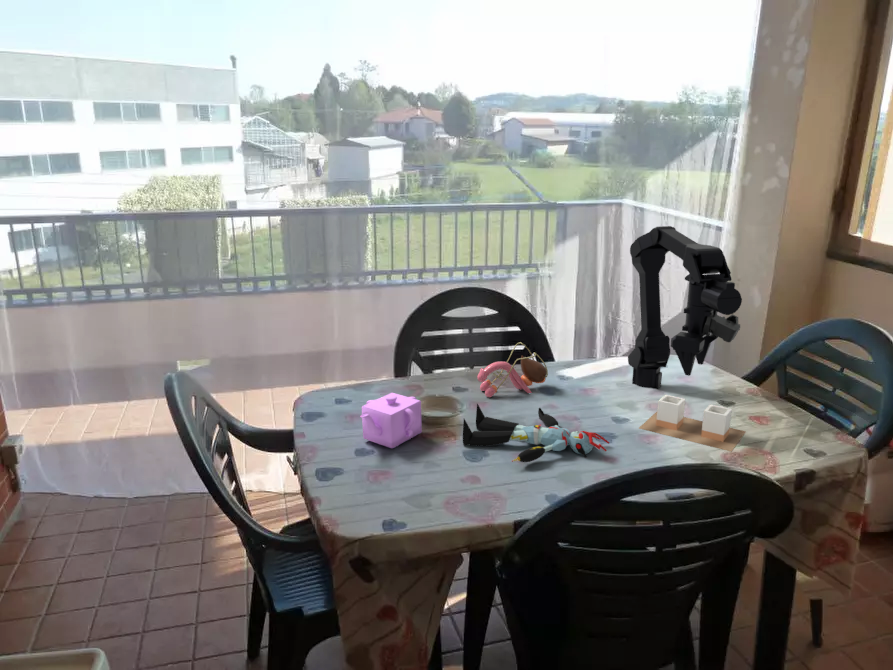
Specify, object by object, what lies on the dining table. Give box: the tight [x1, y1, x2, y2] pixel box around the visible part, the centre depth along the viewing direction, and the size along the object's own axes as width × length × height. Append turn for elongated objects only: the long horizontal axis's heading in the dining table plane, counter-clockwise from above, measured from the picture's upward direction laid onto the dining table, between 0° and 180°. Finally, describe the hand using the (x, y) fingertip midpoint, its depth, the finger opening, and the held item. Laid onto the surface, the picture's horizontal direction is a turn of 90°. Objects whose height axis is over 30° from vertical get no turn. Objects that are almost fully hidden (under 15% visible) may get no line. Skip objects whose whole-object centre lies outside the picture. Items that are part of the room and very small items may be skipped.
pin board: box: [638, 411, 747, 453], centre depth 148 cm, size 20×12×5 cm, turn 53°
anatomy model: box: [476, 341, 549, 398], centre depth 174 cm, size 11×15×17 cm
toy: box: [462, 403, 610, 463], centre depth 144 cm, size 26×8×30 cm
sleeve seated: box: [656, 394, 686, 430], centre depth 151 cm, size 5×5×6 cm
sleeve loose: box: [701, 403, 733, 442], centre depth 145 cm, size 5×5×6 cm
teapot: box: [359, 392, 423, 449], centre depth 147 cm, size 18×14×10 cm
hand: (694, 369), depth 153 cm, fingers open, 9 cm apart
